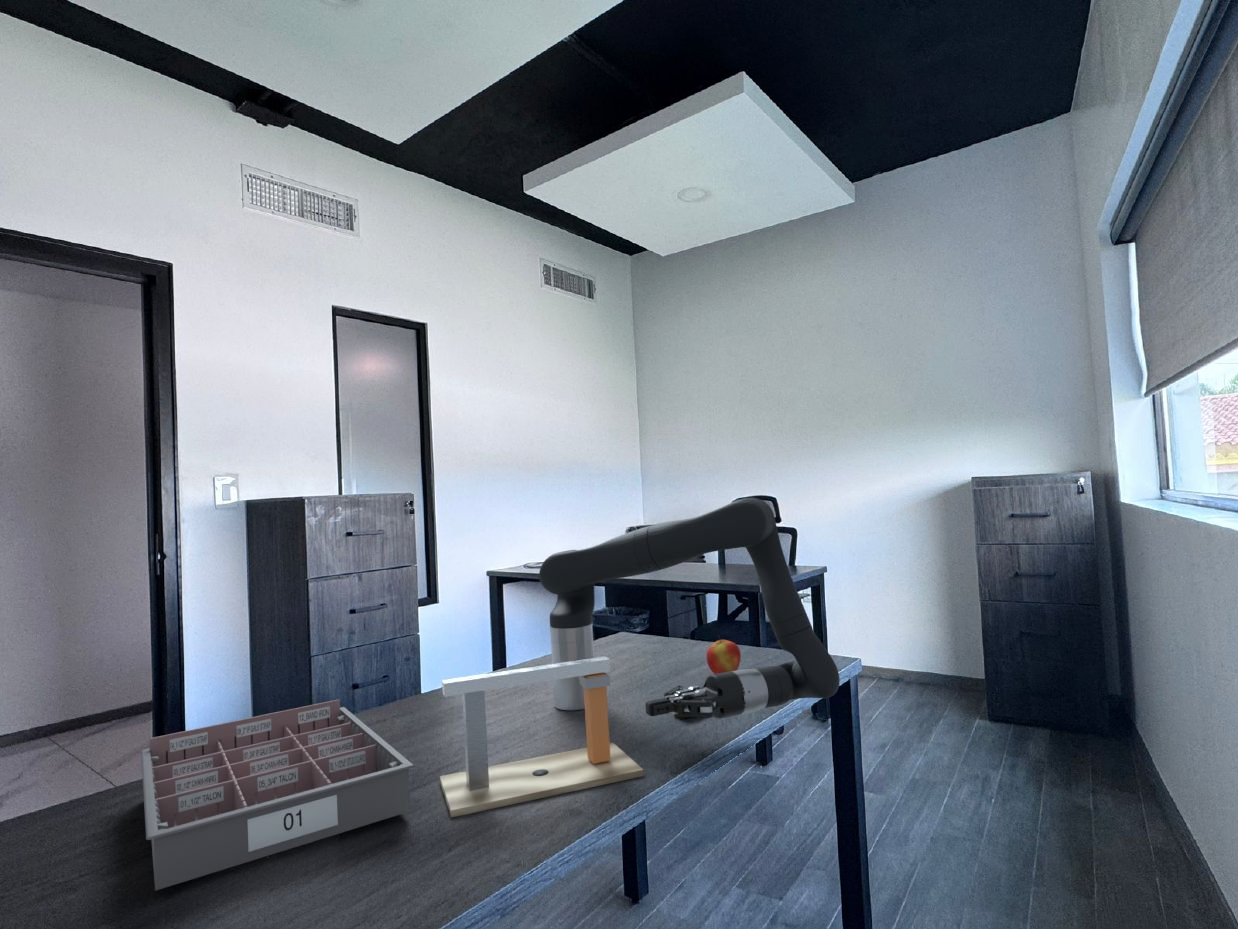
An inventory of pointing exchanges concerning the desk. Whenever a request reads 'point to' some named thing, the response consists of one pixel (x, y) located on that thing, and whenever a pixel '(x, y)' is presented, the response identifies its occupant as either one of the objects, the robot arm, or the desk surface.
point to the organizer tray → (264, 788)
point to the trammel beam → (477, 684)
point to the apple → (723, 656)
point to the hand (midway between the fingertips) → (647, 709)
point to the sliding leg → (596, 716)
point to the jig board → (536, 779)
